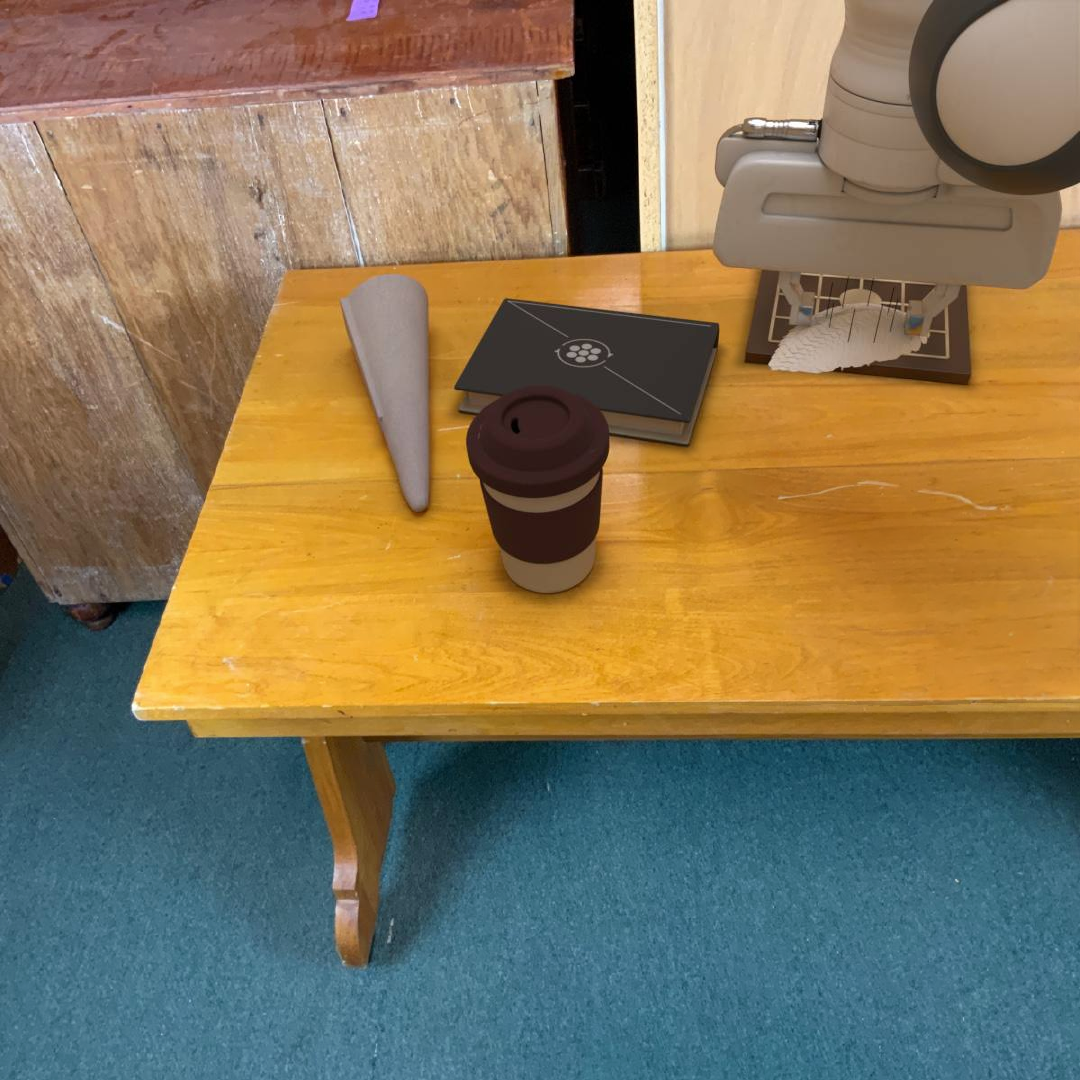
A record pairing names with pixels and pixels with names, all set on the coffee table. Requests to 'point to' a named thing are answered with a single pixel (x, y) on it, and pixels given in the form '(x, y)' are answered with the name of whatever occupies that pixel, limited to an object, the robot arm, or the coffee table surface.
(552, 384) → the book
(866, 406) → the coffee table surface
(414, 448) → the grey tapered cone
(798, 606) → the coffee table surface
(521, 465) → the coffee cup
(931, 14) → the robot arm
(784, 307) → the board
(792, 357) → the pincushion
